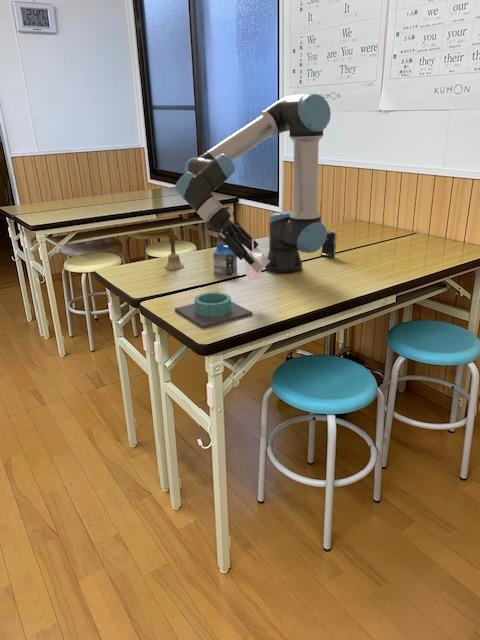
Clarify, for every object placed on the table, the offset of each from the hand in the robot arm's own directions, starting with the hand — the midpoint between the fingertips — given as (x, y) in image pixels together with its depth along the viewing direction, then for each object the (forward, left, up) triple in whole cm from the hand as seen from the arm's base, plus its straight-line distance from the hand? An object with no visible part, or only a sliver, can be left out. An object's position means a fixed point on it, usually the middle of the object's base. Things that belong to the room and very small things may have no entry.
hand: (263, 267), depth 158 cm
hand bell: (+32, -50, -13) cm, 60 cm away
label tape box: (+11, -38, -13) cm, 41 cm away
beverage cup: (+3, -2, -5) cm, 6 cm away
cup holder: (+17, +5, -13) cm, 22 cm away
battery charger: (-35, -57, -13) cm, 68 cm away
